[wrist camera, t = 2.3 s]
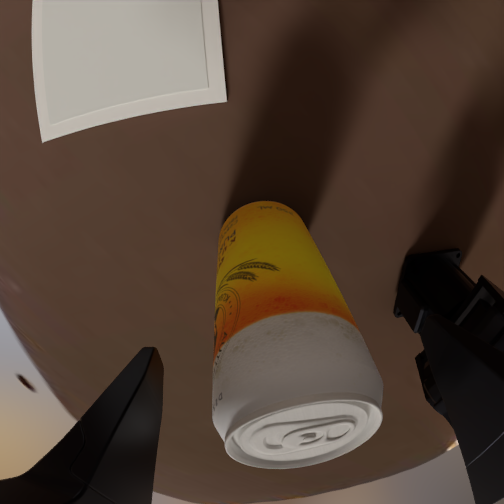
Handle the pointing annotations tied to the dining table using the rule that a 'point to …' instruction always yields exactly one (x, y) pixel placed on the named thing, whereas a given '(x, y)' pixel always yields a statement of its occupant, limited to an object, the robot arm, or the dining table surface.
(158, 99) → the coaster
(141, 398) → the robot arm
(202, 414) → the dining table surface
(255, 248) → the beer can
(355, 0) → the dining table surface
